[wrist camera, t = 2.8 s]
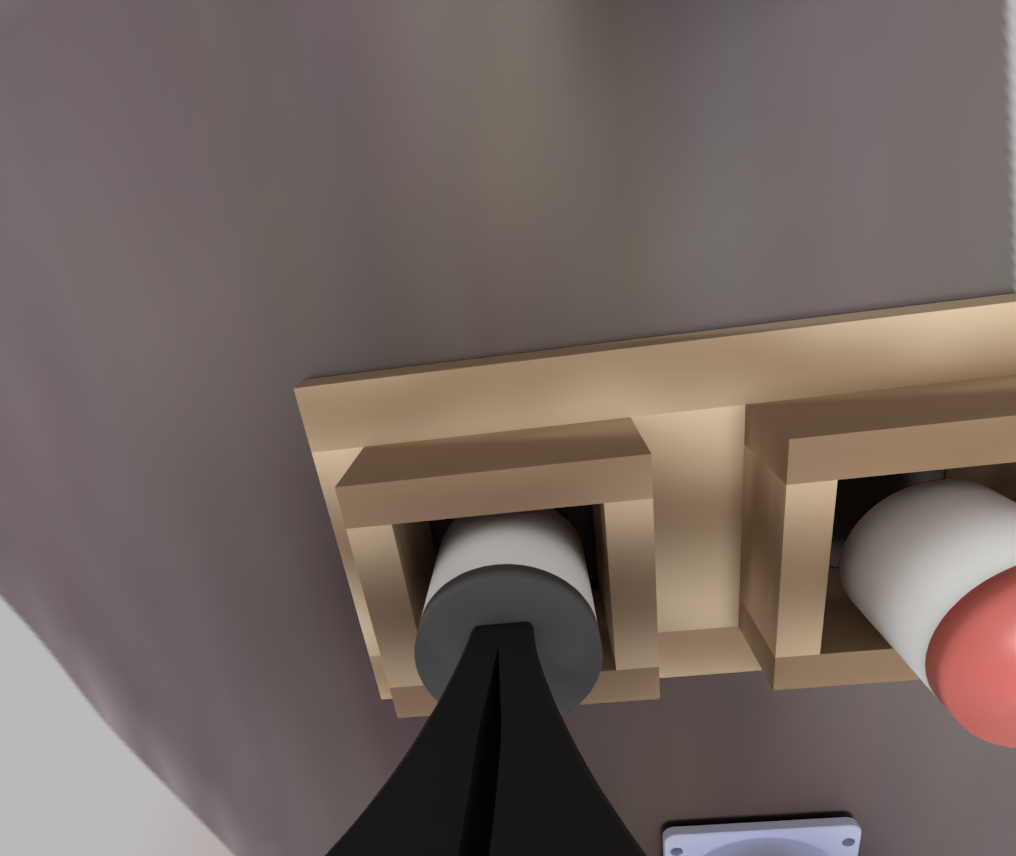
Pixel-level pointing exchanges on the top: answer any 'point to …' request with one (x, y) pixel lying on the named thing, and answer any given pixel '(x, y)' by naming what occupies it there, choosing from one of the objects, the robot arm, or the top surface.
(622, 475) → the socket panel
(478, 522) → the grey plug
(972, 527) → the plug red
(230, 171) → the top surface
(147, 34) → the top surface
